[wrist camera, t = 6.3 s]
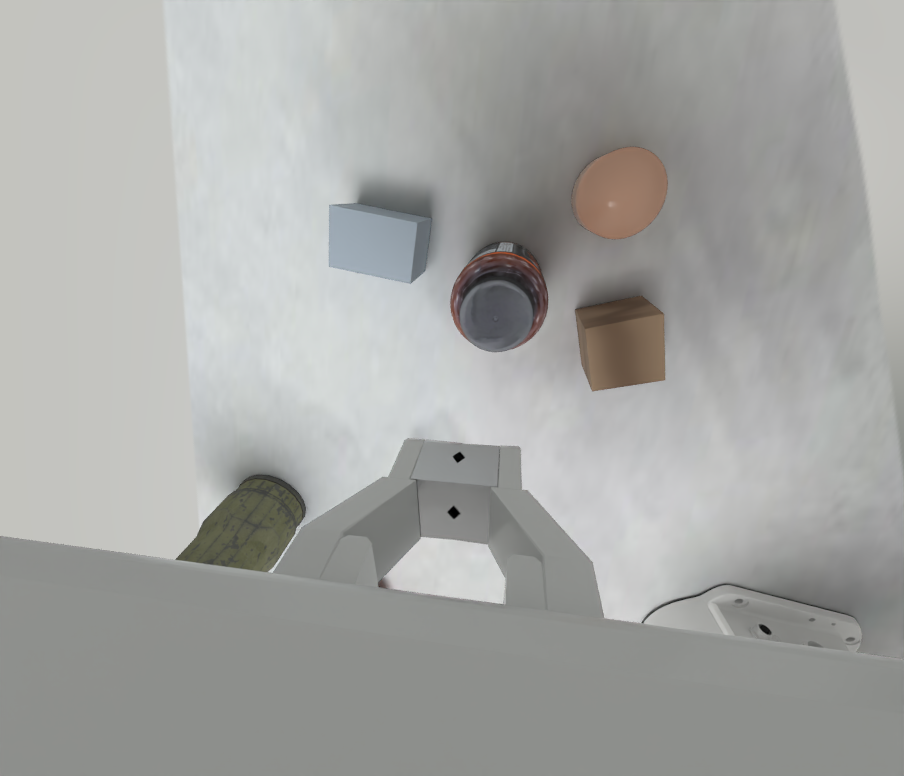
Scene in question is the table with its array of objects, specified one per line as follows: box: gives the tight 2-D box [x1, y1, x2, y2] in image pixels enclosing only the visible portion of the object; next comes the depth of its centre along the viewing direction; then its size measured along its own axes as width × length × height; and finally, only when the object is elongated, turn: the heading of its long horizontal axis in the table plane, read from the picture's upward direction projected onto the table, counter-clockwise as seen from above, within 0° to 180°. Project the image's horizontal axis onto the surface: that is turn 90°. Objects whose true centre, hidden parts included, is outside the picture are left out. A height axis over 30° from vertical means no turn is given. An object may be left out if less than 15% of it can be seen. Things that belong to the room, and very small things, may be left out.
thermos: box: [176, 475, 306, 572], centre depth 31 cm, size 9×12×35 cm
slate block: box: [329, 203, 432, 284], centre depth 27 cm, size 6×4×5 cm, turn 81°
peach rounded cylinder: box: [571, 147, 668, 239], centre depth 24 cm, size 5×5×4 cm
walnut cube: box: [575, 296, 665, 391], centre depth 28 cm, size 5×5×5 cm
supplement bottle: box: [450, 242, 548, 352], centre depth 25 cm, size 6×6×11 cm
